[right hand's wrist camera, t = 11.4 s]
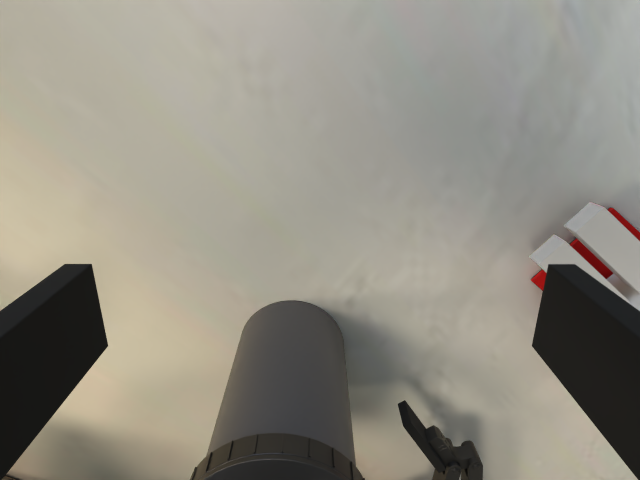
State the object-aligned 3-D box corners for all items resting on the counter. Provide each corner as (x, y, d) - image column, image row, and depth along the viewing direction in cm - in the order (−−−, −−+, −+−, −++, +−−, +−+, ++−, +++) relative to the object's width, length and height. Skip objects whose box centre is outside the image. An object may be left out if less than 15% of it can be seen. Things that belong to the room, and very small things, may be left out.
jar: (355, 372, 44) (380, 560, 27) (262, 398, 45) (228, 594, 28) (325, 287, 41) (332, 441, 24) (224, 317, 42) (160, 485, 25)
